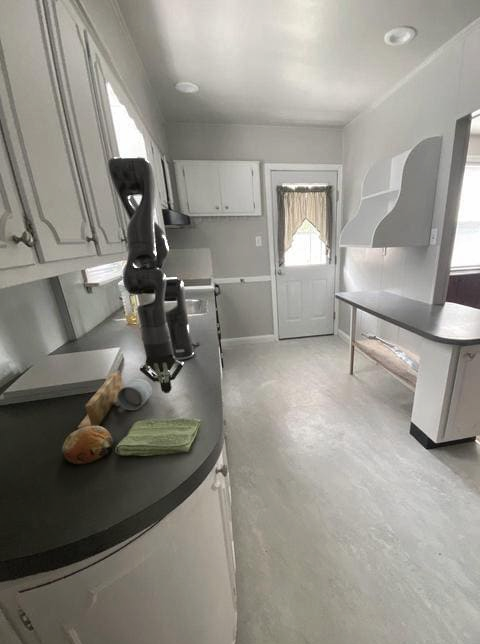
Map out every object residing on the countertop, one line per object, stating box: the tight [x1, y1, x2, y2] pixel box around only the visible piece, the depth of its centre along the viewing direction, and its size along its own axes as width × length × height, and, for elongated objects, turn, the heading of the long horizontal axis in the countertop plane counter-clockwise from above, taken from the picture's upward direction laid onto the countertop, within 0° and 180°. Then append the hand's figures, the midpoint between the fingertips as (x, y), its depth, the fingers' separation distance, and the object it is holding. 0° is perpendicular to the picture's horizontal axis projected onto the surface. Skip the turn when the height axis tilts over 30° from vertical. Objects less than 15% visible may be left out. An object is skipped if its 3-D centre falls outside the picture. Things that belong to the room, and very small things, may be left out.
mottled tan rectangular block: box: [77, 369, 124, 430], centre depth 91 cm, size 24×5×7 cm, turn 11°
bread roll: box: [61, 425, 114, 465], centre depth 72 cm, size 10×10×8 cm
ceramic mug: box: [113, 378, 153, 411], centre depth 93 cm, size 11×8×8 cm
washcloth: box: [115, 417, 202, 457], centre depth 76 cm, size 13×18×3 cm
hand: (167, 391), depth 95 cm, fingers closed
